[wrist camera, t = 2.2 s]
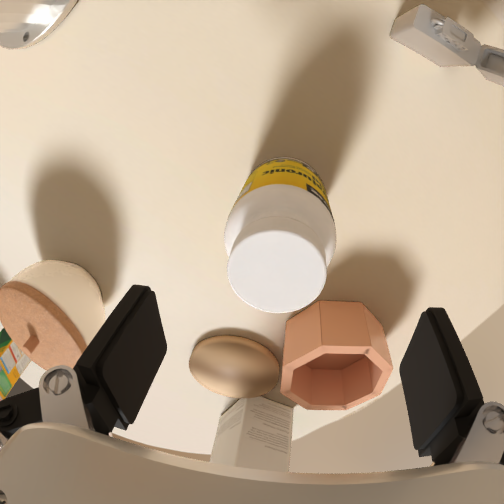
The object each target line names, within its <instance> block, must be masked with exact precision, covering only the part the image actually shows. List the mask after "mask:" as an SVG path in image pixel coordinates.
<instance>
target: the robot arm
mask: <svg viewBox="0 0 504 504" xmlns="http://www.w3.org/2000/svg"><path fill="white" fill-rule="evenodd" d="M76 2H77V0H0V46H1V47H3V48H6V49H22V48H27V47H29V46H32V45H34V44H36V43H38V42H39V41H41V40H42V39H44V38H45V37H46V36H48V35H49V34H50V33H51V32H52V31H53V30H54V29H55V28H56V27H57V26H58V25H59V24H60V23H61V22H62V21H63V20H64V19H65V17H66V16H67V15H68V13H69V12H70V11H71V9H72V8H73V7H74V5H75V4H76ZM166 351H167V343H166V339H165V335H164V331H163V327H162V323H161V318H160V314H159V309H158V305H157V300H156V296H155V292H154V291H151V289H150V287H148V286H142V285H133V286H132V287H131V288H130V289H129V291H128V292H127V293H126V294H125V296H124V297H123V298H122V300H121V301H120V302H119V304H118V305H117V306H116V308H115V309H114V310H113V312H112V313H111V314H110V316H109V317H108V318H107V320H106V321H105V323H104V324H103V325H102V327H101V328H100V329H99V331H98V332H97V334H96V335H95V336H94V338H93V339H92V341H91V342H90V343H89V345H88V346H87V348H86V349H85V351H84V352H83V354H82V355H81V356H80V358H79V359H78V361H77V362H76V365H75V366H74V368H73V369H72V368H71V367H68V366H65V365H59V366H55V367H52V368H50V369H49V370H47V371H46V372H45V373H44V374H43V375H42V377H41V379H40V381H39V387H38V388H35V389H32V390H30V391H27V392H24V393H21V394H18V395H15V396H12V397H8V398H5V399H3V400H1V401H0V504H504V406H503V405H502V404H500V403H497V402H488V403H485V404H484V401H483V396H482V393H481V391H480V388H479V386H478V383H477V380H476V378H475V375H474V373H473V370H472V368H471V365H470V363H469V361H468V358H467V356H466V354H465V351H464V349H463V347H462V344H461V342H460V340H459V338H458V336H457V334H456V331H455V329H454V327H453V325H452V323H451V321H450V319H449V317H448V315H447V313H446V311H445V309H444V308H433V307H430V308H428V309H427V310H426V312H425V311H424V312H423V313H422V314H421V317H420V319H419V322H418V324H417V327H416V329H415V332H414V334H413V336H412V339H411V341H410V344H409V346H408V348H407V350H406V353H405V355H404V357H403V359H402V362H401V364H400V377H401V381H402V385H403V390H404V395H405V400H406V405H407V410H408V415H409V420H410V426H411V432H412V438H413V444H414V448H415V449H416V450H418V453H419V457H424V456H430V455H431V456H432V461H433V462H432V464H431V465H430V467H422V468H415V469H406V470H396V471H387V472H386V471H385V472H372V473H350V474H349V473H348V474H315V473H293V472H292V473H291V472H279V471H267V470H258V469H249V468H242V467H235V466H228V465H222V464H216V463H211V462H205V461H200V460H195V459H190V458H186V457H181V456H177V455H173V454H169V453H165V452H161V451H157V450H154V449H150V448H147V447H143V446H139V445H136V444H132V443H129V442H126V441H122V440H120V439H116V438H113V436H112V433H111V432H112V430H113V428H114V427H117V428H120V429H123V430H127V427H128V425H129V424H133V423H134V421H135V419H136V417H137V414H138V412H139V410H140V408H141V406H142V403H143V401H144V399H145V397H146V395H147V393H148V390H149V388H150V386H151V384H152V382H153V380H154V378H155V375H156V373H157V371H158V369H159V367H160V365H161V363H162V361H163V359H164V356H165V354H166Z"/></svg>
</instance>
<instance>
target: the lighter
mask: <svg viewBox="0 0 504 504" xmlns="http://www.w3.org/2000/svg"><path fill="white" fill-rule="evenodd" d="M390 37H391V39H393V40H395V41H397V42H399V43H401V44H403V45H404V46H406V47H408V48H410V49H412V50H413V51H415V52H417V53H418V54H420V55H422V56H424V57H425V58H427V59H428V60H430V61H432V62H433V63H435V64H436V65H438V66H440V67H450V66H474V65H476V67H477V69H478V70H479V71H480V72H481V74H482V75H483V76H484V77H485V78H486V80H489V81H491V82H494V83H497V84H499V85H502V86H504V50H502V49H499V48H495V47H492V46H488V45H485V44H484V45H482V46H481V44H480V42H479V41H478V40H476V39H475V38H474V36H473V34H472V33H470V32H469V31H468V30H466V29H465V28H464V27H462V26H461V25H459V24H458V23H456V22H455V21H454V20H452V19H451V18H449V17H444V16H442V15H441V14H439V13H438V12H436V11H434V10H433V9H431V8H429V7H428V6H426V5H424V4H421V5H418V6H416V7H415V8H413V9H411V10H409V11H408V12H406V13H404V14H403V15H401V16H399V17H398V18H396V19H395V22H394V24H393V27H392V30H391V32H390Z"/></svg>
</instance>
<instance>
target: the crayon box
mask: <svg viewBox="0 0 504 504" xmlns="http://www.w3.org/2000/svg"><path fill="white" fill-rule="evenodd" d="M30 362H31V359H30V358H29V357H28V356H27V355H26V354H24V353H23V352H22V351H21V350H20V348H19V347H18V346H17V345H16V344H15V343H14V341H13V340H12V339H11V337H10V336H9V335H8V333H7V332H6V330H5V328H3V329H2V331H1V332H0V401H1V400H3V399H5V397H6V396H7V394H8V393H9V391H10V390H11V388H12V387H13V386H14V384H15V383H16V381H17V380H18V378H19V377H20V375H21V374H22V373H23V371H24V370H25V368H26V367H27V366H28V364H29V363H30Z"/></svg>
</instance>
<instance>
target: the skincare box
mask: <svg viewBox="0 0 504 504" xmlns="http://www.w3.org/2000/svg"><path fill="white" fill-rule="evenodd" d="M292 424H293V408H292V407H289V406H286V405H283V404H280V403H277V402H275V401H272V400H269V399H267V398H264V397H261V396H258V397H253V398H241V399H240V400H238V401H237V402H236V403H235V404H234V405H233V406H232V407H231V408H230V409H229V410H227V411H226V412H225V413H224V414H223V415H222V416H221V417H220V420H219V424H218V429H217V433H216V437H215V441H214V445H213V449H212V454H211V458H210V462H211V463H216V464H222V465H228V466H235V467H242V468H249V469H258V470H267V471H279V472H289V463H290V451H291V439H292Z"/></svg>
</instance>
